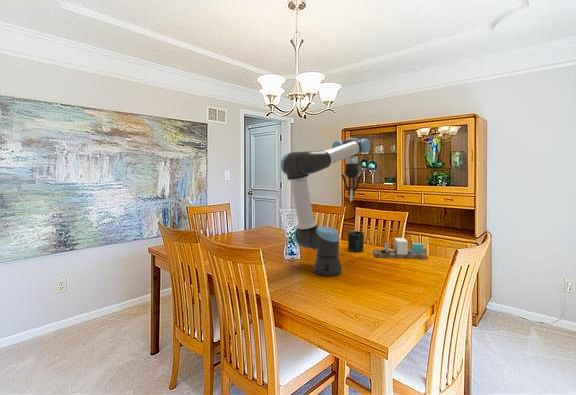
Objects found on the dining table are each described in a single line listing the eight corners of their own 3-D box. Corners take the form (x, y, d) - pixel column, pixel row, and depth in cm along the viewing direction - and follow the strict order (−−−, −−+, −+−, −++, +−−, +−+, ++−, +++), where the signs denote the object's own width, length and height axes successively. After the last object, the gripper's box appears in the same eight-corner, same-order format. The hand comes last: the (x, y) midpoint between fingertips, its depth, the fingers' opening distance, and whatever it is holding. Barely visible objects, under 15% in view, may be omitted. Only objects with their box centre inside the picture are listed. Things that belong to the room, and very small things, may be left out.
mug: (344, 251, 215) (345, 233, 214) (352, 246, 227) (352, 229, 226) (360, 253, 209) (360, 235, 208) (367, 248, 221) (368, 231, 220)
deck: (375, 257, 198) (375, 253, 198) (373, 253, 209) (373, 249, 209) (426, 259, 194) (426, 255, 194) (421, 254, 205) (421, 250, 205)
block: (413, 251, 198) (413, 244, 198) (411, 250, 202) (411, 242, 202) (423, 252, 197) (423, 244, 197) (421, 250, 202) (421, 243, 201)
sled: (386, 252, 199) (386, 244, 199) (384, 250, 206) (384, 242, 206) (427, 254, 196) (427, 245, 195) (424, 251, 203) (424, 243, 202)
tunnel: (397, 254, 197) (397, 241, 196) (394, 250, 207) (394, 237, 206) (407, 254, 196) (407, 241, 195) (403, 250, 206) (404, 238, 205)
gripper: (341, 163, 199) (340, 201, 201) (362, 163, 197) (362, 201, 199) (341, 163, 207) (340, 200, 209) (361, 163, 205) (361, 200, 207)
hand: (351, 200), depth 204 cm, fingers closed
